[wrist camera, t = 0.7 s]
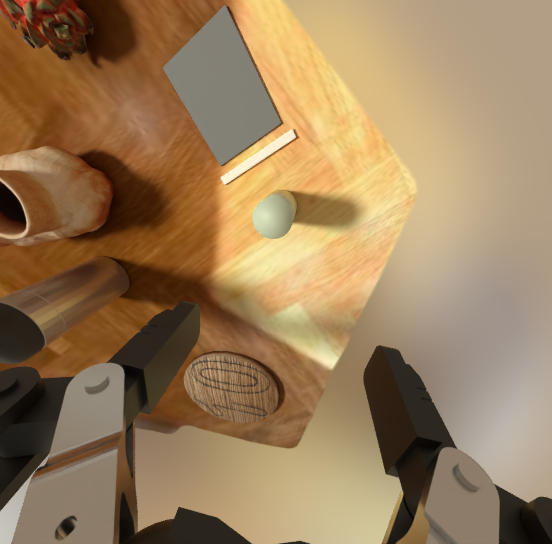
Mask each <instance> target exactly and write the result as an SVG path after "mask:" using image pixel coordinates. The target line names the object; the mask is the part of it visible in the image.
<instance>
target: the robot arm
mask: <svg viewBox="0 0 552 544" xmlns="http://www.w3.org/2000/svg"><path fill="white" fill-rule="evenodd" d="M129 286H130V281H129V277H128V275H127V273H126V271H125V270H124V268H123V267H122V266H121V265H120V264H119V263H117V262H116V261H114V260H113V259H111V258H108V257H103V256H100V257H96V258H93V259H91V260H88V261H86V262H84V263H81V264H79V265H76V266H74V267H72V268H69V269H67V270H65V271H62V272H60V273H58V274H55V275H53V276H51V277H48V278H46V279H44V280H41V281H39V282H37V283H35V284H32V285H30V286H28V287H25V288H23V289H21V290H18V291H16V292H14V293H11V294H9V295H7V296H4V297H2V298H0V362H1V363H7V364H16V363H20V362H23V361H25V360H27V359H29V358H30V357H32V356H33V355H35V354H36V353H38V352H39V351H41V350H42V349H43V348H45V347H46V346H48V345H49V344H51V343H52V342H54V341H55V340H57V339H58V338H60V337H61V336H62V335H64V334H65V333H67V332H68V331H70V330H71V329H73V328H74V327H75V326H77V325H78V324H80V323H81V322H83V321H84V320H86V319H87V318H89V317H90V316H92V315H93V314H94V313H96V312H97V311H99V310H100V309H102V308H103V307H105V306H106V305H108V304H109V303H111V302H112V301H114V300H115V299H117V298H118V297H119V296H121V295H122V294H124V293H125V292H126V291H127V290H128V289H129ZM199 334H200V305H199V304H195V303H190V302H186V301H181V302H180V303H179V304H178V305H177V306H176V307H175V308H174V309H173V310H169V309H167V310H165V311H163V312H161V313H159V314H157V315H155V316H154V317H153V318H152V319H151V320H150V321H149V322H148V323H147V325H145V326H144V327H143V328H142V329H141V330H140V332H139V333H137V334H136V335H135V336H134V337H133V338H132V339H131V340H130V341H129V342H127V343H126V344H125V345H124V346H123V347H122V348H121V349H120V350H119V351H118V352H117V353H116V354H115V355H114V356H113V357H112V358H111V359H110V360H109V361H108V362H107V363H102V364H97V365H94V366H92V367H89V368H87V369H85V370H84V371H82V372H80V373H79V374H78V375H76V376H74V377H60V378H43V379H41V377H40V375H39V373H38V371H37V370H36V369H34V368H31V367H15V368H11V369H7V370H4V371H1V372H0V511H1V510H2V509H3V507H4V506H5V505H6V504H7V503H8V501H9V500H10V499H11V498H12V497H13V496H14V494H15V493H16V492H17V491H18V490H19V488H20V487H21V486H22V485H23V484H24V483H25V481H26V480H27V479H28V478H29V477H30V475H31V474H32V473H33V472H34V471H35V470H36V468H37V467H38V466H39V465H40V464H41V462H42V461H43V460H44V459H45V458H46V457H47V455H48V454H49V453H50V454H49V458H48V460H47V463H46V464H45V466H42V467H40V468H38V469H37V470H36V471H35V473H34V474H33V477H32V478H31V481H30V483H29V486H28V489H27V492H26V496H25V499H24V503H23V506H22V509H21V513H20V517H19V520H18V523H17V527H16V530H15V533H14V537H13V540H12V543H11V544H251V543H250V542H249V541H247V540H246V539H245V538H244V537H242V536H241V535H240V534H238V533H237V532H236V531H234V530H233V529H232V528H230V527H229V526H228V525H226V524H225V523H224V522H223V521H221V520H220V519H218V518H217V517H213V516H209V515H206V514H202V513H198V512H195V511H192V510H188V509H184V508H181V507H179V508H178V510H177V513H176V516H175V518H174V519H170V520H165V521H161V522H158V523H155V524H153V525H151V526H148V527H146V528H144V529H142V530H141V531H139V532H138V510H137V496H136V485H135V421H134V419H135V418H136V416H137V415H138V414H139V412H143V413H147V414H151V412H152V411H153V409H154V408H155V406H156V405H157V403H158V402H159V400H160V398H161V397H162V395H163V394H164V392H165V391H166V389H167V388H168V386H169V384H170V383H171V381H172V380H173V378H174V377H175V375H176V374H177V372H178V371H179V369H180V367H181V366H182V364H183V363H184V361H185V360H186V358H187V357H188V355H189V353H190V352H191V350H192V349H193V347H194V346H195V344H196V342H197V340H198V337H199ZM364 385H365V390H366V394H367V398H368V402H369V407H370V411H371V415H372V419H373V423H374V427H375V431H376V436H377V439H378V444H379V448H380V452H381V456H382V460H383V465H384V469H385V472H386V474H387V475H391V476H395V477H399V479H400V483H401V486H402V491H401V493H400V495H399V498H398V500H397V503H396V506H395V509H394V511H393V514H392V517H391V520H390V523H389V525H388V528H387V531H386V533H385V536H384V539H383V542H382V544H552V499H550V498H547V497H538V498H536V499H534V500H533V501H531V502H529V503H527V502H525V501H523V500H522V499H520V498H518V497H516V496H515V495H513V494H511V493H509V492H507V491H506V490H504V489H502V488H500V487H498V486H497V485H495V484H494V483H493V482H492V480H491V479H490V477H489V476H488V474H487V473H486V472H485V471H484V469H483V468H482V467H481V466H480V465H479V464H478V463H477V462H476V461H475V460H474V459H472V458H471V457H470V456H468V455H467V454H465V453H464V452H462V451H460V450H458V449H457V447H456V446H455V444H454V442H453V440H452V438H451V436H450V434H449V432H448V430H447V428H446V426H445V425H444V422H443V420H442V418H441V417H440V415H439V413H438V411H437V409H436V407H435V405H434V403H433V402H432V399H431V397H430V395H429V393H428V392H427V391H426V387H425V385H424V383H423V382H422V380H421V378H420V376H419V375H418V374H417V373H416V372H415V371H414V369H413V368H412V367H411V366H410V365H408V364H405V362H404V360H403V358H402V356H401V353H400V352H399V351H398V350H397V349H393V348H389V347H385V346H380V345H379V346H377V347H376V349H375V351H374V353H373V355H372V357H371V358H370V360H369V362H368V364H367V366H366V368H365V372H364ZM281 544H309V543H306V542H302V541H296V542H288V543H281Z"/></svg>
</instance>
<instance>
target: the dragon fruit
mask: <svg viewBox="0 0 552 544" xmlns="http://www.w3.org/2000/svg"><path fill="white" fill-rule="evenodd" d="M79 3H81V0H0V13H1V14H2V15H3V16H4V17H5V18H6V19H7V20H9V21H10V22H11V25H12V27H13V28H14V29H16V25H15V24H14V23H16V24H19V27H20V28H21V30H22V32H23V34H24V36H25V37H23V36H22V35H20V37H21V38H22V39H23V40H24V41H25V42H26V43H27V44H28V45H30V46H31V47H33V48H35V46H36V47H37V48H42V47H43V46H44V45H46V44H47V45H48V46H49V47H50V49H51V50H52V51H53V52H54V53H55V54H56V55H57V56H58V57H59V58H60V59H62V60H70V56H69V55H70V52H71V51H72V52H75V53H78V54H81V55H82V54H84V53H85V52H87V51H86V39H85V34H93V32H94V25H93V23H92V22H91V20H90V19H89V17H88V16H87V15H86V14H85V13H84V12H83V11H82V10H81V9H79V8H78V4H79ZM93 35H94V34H93Z"/></svg>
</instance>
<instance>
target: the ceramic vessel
mask: <svg viewBox="0 0 552 544" xmlns="http://www.w3.org/2000/svg"><path fill="white" fill-rule="evenodd" d="M114 191H115V190H114V187H113V183H112V181H111V180H110V179H109V178H108V177H107V175H106V174H105V173H104V172H103V171H99V170H97V169H94V168H92V167H90V166H89V165H88V164H87V163H86V162H85V161H84V160H82V159H81V158H79V157H78V156H76V155H74V154H72V153H70V152H68V151H66V150H64V149H61V148H58V147H53V146H43V147H40V148H38V149H35V150H25V151H21V152H18V153H13V154H4V155H2V156H0V247H4V246H7V245H10V244H13V245H18V246H36V245H39V244H42V243H44V242H49V241H57V240H60V239H65V238H68V237H74V236H78V235H80V234H83V233H86V232H93V231H95V230H97V229H98V228H100V227H101V226H102V225H103V224H104V223H105V222H106V221H108V217H109V214H110V210H111V204H112V198H113V196H114Z"/></svg>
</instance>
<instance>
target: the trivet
mask: <svg viewBox="0 0 552 544" xmlns="http://www.w3.org/2000/svg"><path fill="white" fill-rule="evenodd" d="M184 385H185V388H186V390H187V392H188V395H189V396H190V397H191V398H192V400H193V401H194V402H195V403H196V404H197V405H198V406H200V407H201V408H202V409H203V410H205V411H207V412H208V413H210V414H212V415H214V416H217V417H219V418H222V419H225V420H229V421H233V422H244V423H246V422H255V421H259V420H262V419H265V418H266V417H268V416H269V415H271V414H272V413H273V411H274V410H275V409H276V407H277V403H278V398H279V389H278V384H277V382H276V380H275V379H274V377H273V375H272V374H271V373H270V372H269V371H268V370H267V369H266V368H265V367H264V366H263V365H261V364H260V363H258V362H257V361H255V360H254V359H252V358H249V357H247V356H244V355H242V354H238V353H233V352H229V351H213V352H209V353H204V354H202V355H200V356H198V357H197V358H195V359H194V360H193V361H192V362H191V364H190V365H189V366H188V368H187V370H186V372H185V376H184Z"/></svg>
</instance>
